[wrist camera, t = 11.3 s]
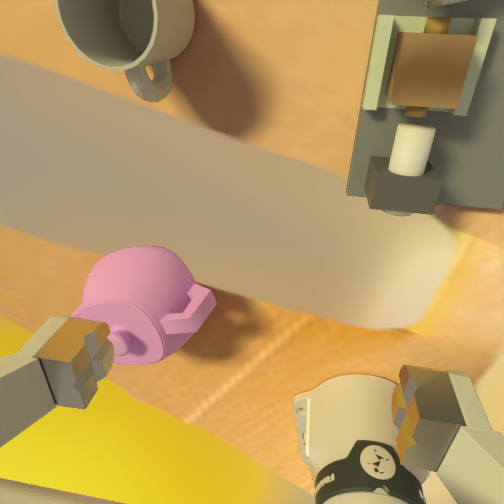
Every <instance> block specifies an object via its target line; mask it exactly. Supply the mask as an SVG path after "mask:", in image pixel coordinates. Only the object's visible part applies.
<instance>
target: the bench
mask: <svg viewBox="0 0 504 504" xmlns="http://www.w3.org/2000/svg"><path fill="white" fill-rule="evenodd" d="M427 17H451V22H450V26H449V29H448V33H447V34H460V35H476V36H478V38H477V42H476V45H475V48H474V52H473V55H472V58H471V62H470V65H469V68H468V72H467V75H466V79H465V82H464V85H463V89H462V92H461V95H460V99H459V102H458V105H457V109H450V108H433V107H428V110H427V114H426V117H411V116H407V115H405V110H406V106H401V105H393V104H392V103H391V101H390V100H389V99H388V98H387V97H386V91H387V86H388V81H389V76H390V71H391V66H392V61H393V56H394V51H395V46H396V41H397V36H398V32H410V33H423V32H424V28H425V24H426V19H427ZM346 194H347V195H348V196H359V197H367V199H368V204H369V208H370V209H379V210H382V211H384V212H385V213H388V214H391V215H395V216H409V215H411V214H412V213H422V214H431V215H432V213H433V210H434V207H435V204H445V205H456V206H467V207H478V208H489V209H500V210H501V208H502V206H503V203H504V0H467V1H462V2H457V3H452V4H447V5H442V6H437V7H432V8H427V9H425V0H379V2H378V8H377V14H376V19H375V25H374V31H373V37H372V43H371V49H370V54H369V60H368V66H367V72H366V78H365V84H364V89H363V95H362V101H361V107H360V113H359V119H358V124H357V130H356V136H355V142H354V148H353V154H352V159H351V165H350V171H349V177H348V183H347V188H346Z"/></svg>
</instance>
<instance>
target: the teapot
mask: <svg viewBox="0 0 504 504" xmlns="http://www.w3.org/2000/svg"><path fill="white" fill-rule="evenodd" d="M216 304H217V302H216V300H215V298H214V295H213V293H212V291H211V290H210V289H208V288H205V287H203V286H200V285H198V284H196V282H195V280H194V278H193V276H192V274H191V273H190V271H189V270H188V268H187V267H186V265H185V264H184V263H183V262H182V260H181V259H180V258H179V257H178V256H177V255H176V254H174V253H173V252H172V251H170V250H168V249H166V248H163V247H158V246H137V247H129V248H124V249H121V250H117V251H115V252H112V253H110V254H107V255H105V256H104V257H102V258H101V259H100V260H99V261H98V262H97V263H96V265H95V266H94V268H93V269H92V271H91V272H90V274H89V276H88V279H87V281H86V284H85V287H84V291H83V297H82V304H81V305H80V306H79V307H78V308H77V309H76V310H75V311H74V312H73V313H72V315H71V316H70V317H77V318H83V319H89V320H95V321H101V322H105V323H107V324H108V325H109V329H110V334H109V335H108V337H107V338H108V339H109V340H110V341H111V342H112V344H113V347H114V360H113V362H114V363H116V364H120V365H144V364H151V363H156V362H159V361H161V360H163V359H165V358H166V357H168V356H170V355H171V354H173V353H174V352H176V351H177V350H178V349H180V348H181V347H182V346H183V345H184V344H185V343H186V342H187V341H188V340H189V339H190V338H191V337H192V335H193V334H194V332H197V331H198V330H199V328H200V327H201V325H202V324H203V323H204V321H205V320H206V318H207V317H208V316H209V314H210V313H211V311H212V310H213V309H214V307H215V306H216Z"/></svg>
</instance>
